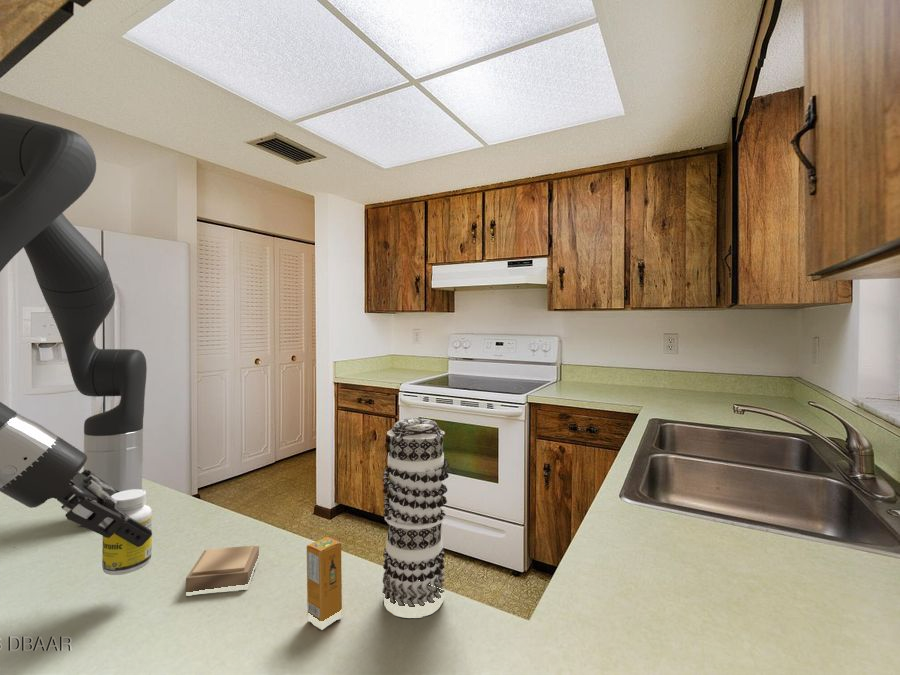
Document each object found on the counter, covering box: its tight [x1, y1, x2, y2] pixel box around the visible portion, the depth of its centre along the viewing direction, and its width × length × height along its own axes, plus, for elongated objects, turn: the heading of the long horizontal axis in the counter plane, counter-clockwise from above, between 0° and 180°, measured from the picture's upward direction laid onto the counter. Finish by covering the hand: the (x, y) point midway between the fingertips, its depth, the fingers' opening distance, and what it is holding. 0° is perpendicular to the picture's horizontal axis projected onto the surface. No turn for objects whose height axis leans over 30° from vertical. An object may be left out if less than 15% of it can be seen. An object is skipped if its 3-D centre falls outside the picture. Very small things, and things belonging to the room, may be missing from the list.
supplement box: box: [306, 536, 343, 621], centre depth 56 cm, size 3×3×10 cm
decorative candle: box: [382, 417, 450, 607], centre depth 61 cm, size 9×9×25 cm
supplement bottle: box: [101, 489, 153, 576], centre depth 59 cm, size 5×5×10 cm
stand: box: [185, 545, 260, 593], centre depth 66 cm, size 8×8×3 cm
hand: (143, 530), depth 61 cm, fingers closed on supplement bottle, 5 cm apart
